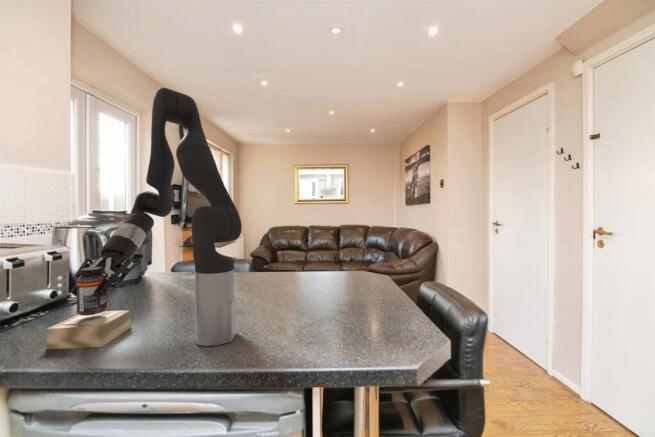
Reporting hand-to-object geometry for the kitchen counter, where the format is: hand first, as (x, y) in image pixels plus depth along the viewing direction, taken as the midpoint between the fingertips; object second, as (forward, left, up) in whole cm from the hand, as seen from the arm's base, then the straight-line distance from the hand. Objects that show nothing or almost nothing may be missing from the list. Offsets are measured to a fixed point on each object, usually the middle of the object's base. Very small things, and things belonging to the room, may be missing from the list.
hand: (85, 295), depth 73 cm
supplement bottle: (0, -2, -5) cm, 5 cm away
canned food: (+13, -23, -11) cm, 29 cm away
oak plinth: (0, -2, -11) cm, 11 cm away
